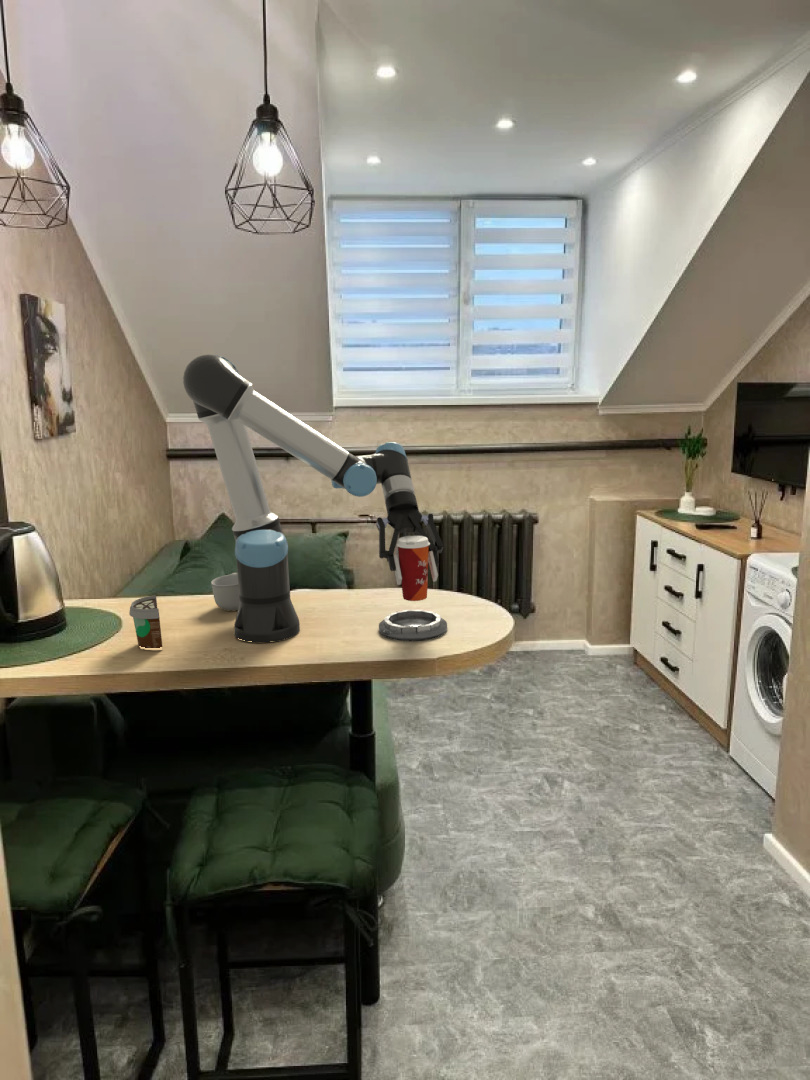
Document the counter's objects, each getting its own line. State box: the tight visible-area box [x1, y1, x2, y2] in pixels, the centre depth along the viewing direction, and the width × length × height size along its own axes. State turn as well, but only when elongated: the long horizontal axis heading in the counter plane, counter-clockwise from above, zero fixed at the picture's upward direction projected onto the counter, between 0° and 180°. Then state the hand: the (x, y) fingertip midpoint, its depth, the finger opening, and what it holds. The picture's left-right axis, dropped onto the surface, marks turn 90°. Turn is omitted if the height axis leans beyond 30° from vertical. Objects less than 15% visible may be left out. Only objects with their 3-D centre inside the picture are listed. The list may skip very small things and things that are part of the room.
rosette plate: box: [378, 609, 448, 642], centre depth 176 cm, size 16×16×3 cm
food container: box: [128, 594, 163, 648], centre depth 170 cm, size 12×6×10 cm, turn 21°
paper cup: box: [396, 535, 430, 602], centre depth 173 cm, size 8×8×14 cm
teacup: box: [210, 572, 240, 611], centre depth 197 cm, size 14×11×8 cm
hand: (417, 580), depth 170 cm, fingers closed on paper cup, 8 cm apart
